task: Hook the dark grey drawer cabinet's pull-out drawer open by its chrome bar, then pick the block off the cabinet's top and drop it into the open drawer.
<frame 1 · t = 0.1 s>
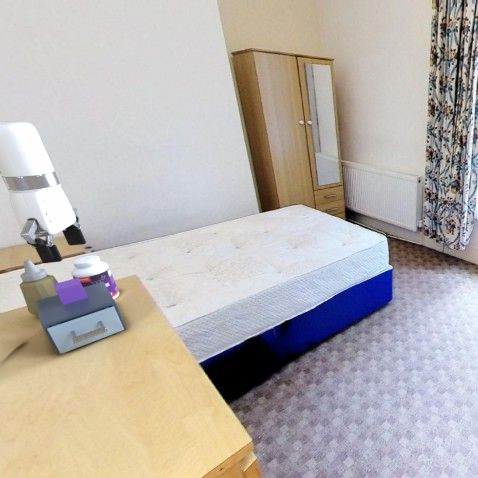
hand: (66, 252, 76), 25 cm above the table, tool pointing down, fingers open, 9 cm apart
block: (74, 298, 86), point 9 cm above the table, touching dark grey drawer cabinet
squeeze bottle: (55, 315, 94), on the table
pull-out drawer: (85, 322, 84), point 5 cm above the table, slide at 0.5 cm
dark grey drawer cabinet: (89, 328, 89), on the table
pill bottle: (103, 300, 101), on the table
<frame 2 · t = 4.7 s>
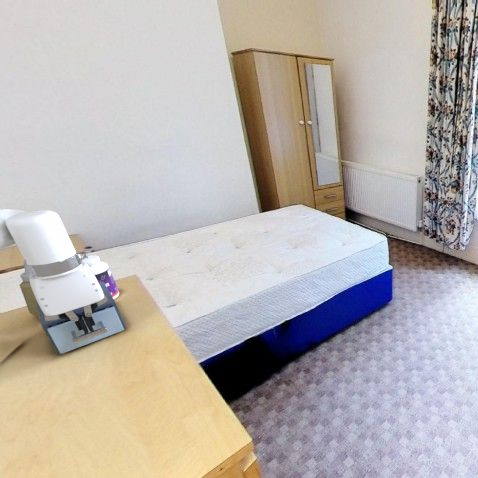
hand: (88, 329, 79), 6 cm above the table, tool pointing down, fingers closed
pull-out drawer: (85, 323, 84), point 5 cm above the table, slide at 0.6 cm, touching gripper
everything else where it was.
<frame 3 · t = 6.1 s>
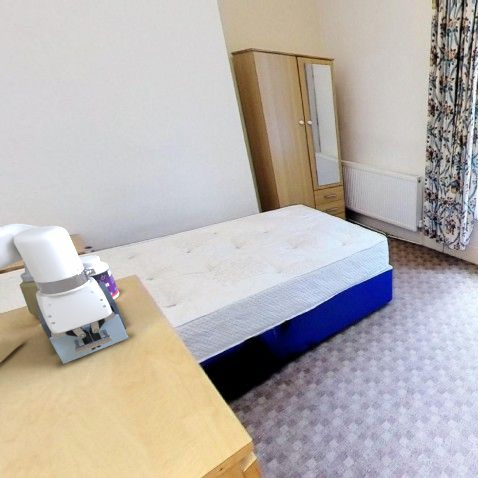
hand: (95, 345, 78), 4 cm above the table, tool pointing down, fingers closed
pull-out drawer: (89, 331, 81), point 5 cm above the table, slide at 5.5 cm, touching gripper
everything else where it was.
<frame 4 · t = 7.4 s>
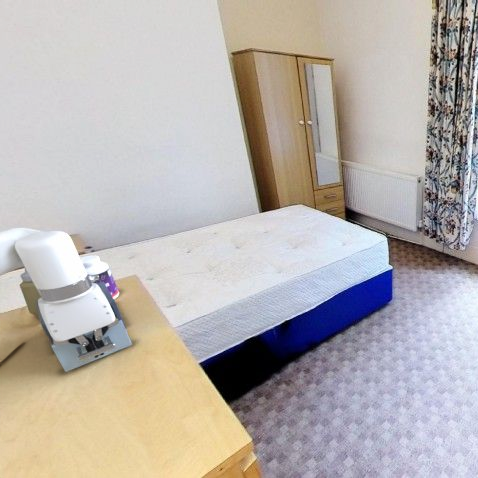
hand: (98, 353, 76), 4 cm above the table, tool pointing down, fingers closed
pull-out drawer: (91, 338, 79), point 5 cm above the table, slide at 9.3 cm, touching gripper
everything else where it was.
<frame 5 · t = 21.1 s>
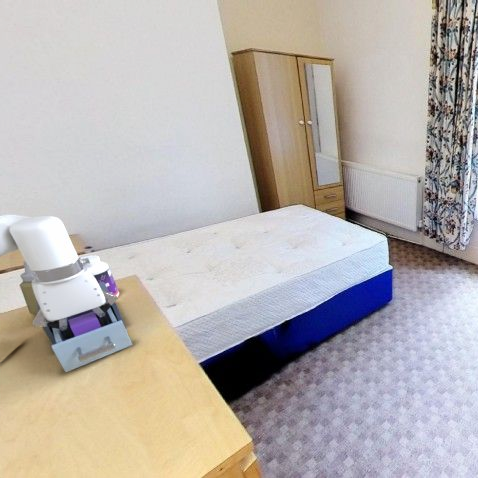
hand: (89, 333, 80), 5 cm above the table, tool pointing down, fingers closed on block, 4 cm apart
block: (90, 334, 80), point 5 cm above the table, touching gripper
pull-out drawer: (91, 338, 79), point 5 cm above the table, slide at 9.4 cm
everything else where it was.
when the fingers open (7 cm above the table, at t = 28.9 s): block stays where it is, resting on pull-out drawer.
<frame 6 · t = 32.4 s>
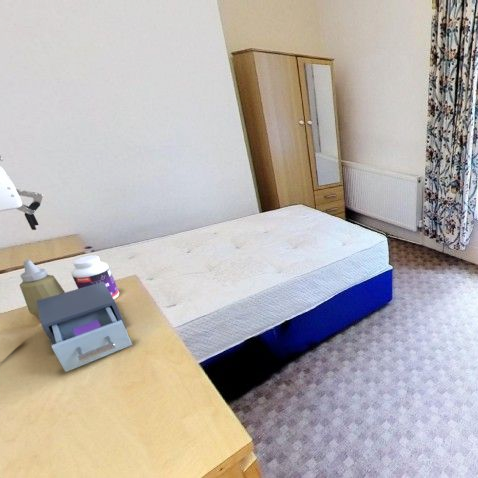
hand: (4, 233, 77), 28 cm above the table, tool pointing down, fingers open, 9 cm apart
block: (94, 342, 81), point 2 cm above the table, touching pull-out drawer
pull-out drawer: (91, 338, 79), point 5 cm above the table, slide at 9.3 cm, touching block
everything else where it was.
at the end: pull-out drawer slide at 9.3 cm; block inside the target area in the pull-out drawer (0.1 cm from its centre), point 2.0 cm above the dark grey drawer cabinet's base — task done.
